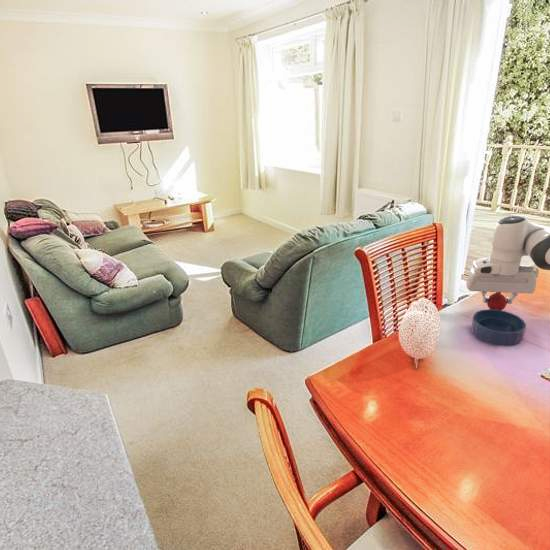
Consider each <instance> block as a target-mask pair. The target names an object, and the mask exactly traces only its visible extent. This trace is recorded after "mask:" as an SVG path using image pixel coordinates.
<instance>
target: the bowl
mask: <svg viewBox="0 0 550 550" xmlns="http://www.w3.org/2000/svg"><path fill="white" fill-rule="evenodd" d="M471 321H472V322H471V327H470V330H471V333H472V335H473V336H474V337H475V338H477V339H479V340H480V341H482V342H483V343H484V342H485V343H486V344H490V345H494V346H500V347H513V346H517V345H520V344H521V343H522V342H523V341H524V337H525V332H526V329H527V323H526V322H525V321H524V319H523V318H521V317H520V316H519V315H516V314H514V313H512V312H509V311H506V310H493V309H490V308H488V309H481V310H478V311H476V312H475V313H473V316H472V320H471Z"/></svg>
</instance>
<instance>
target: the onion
mask: <svg viewBox="0 0 550 550" xmlns="http://www.w3.org/2000/svg"><path fill="white" fill-rule="evenodd" d="M488 298H489V303H486V304H487V307H488V309H493V310H501V311H504V309H505V308H506V307H507V305H508V304H507V301H506V296H504V295H503V294H502V292H494V293H492V294H490V295H489V296H488Z"/></svg>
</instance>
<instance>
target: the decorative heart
mask: <svg viewBox="0 0 550 550" xmlns="http://www.w3.org/2000/svg"><path fill="white" fill-rule="evenodd" d="M402 317H403V318H402V320H401V322H400V324H399V327H398V340H399V344H400V346H401V348H402V350H403V351H404V353H405V354H407V356H409V357H411V358H413V359H414V364H415V369H417V368H418V360H421V359H425V358H427V357H429V356H430V355H432V353H433V352H434V351H435V350H436V348H437V346H438V344H439V340H440V335H441V318H440V313H439V310H438V308H437V306H436V304H434V302H432V300H429V299H427V298H420V299H417V300H416V301H414V302H413V303H412V304H411V305H410V306H409V307H408V308H407V310H406V311H405V313H404V315H403V316H402Z"/></svg>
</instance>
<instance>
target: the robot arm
mask: <svg viewBox="0 0 550 550" xmlns="http://www.w3.org/2000/svg"><path fill="white" fill-rule="evenodd" d="M491 247H492V248H491V252H490V254H489V256H488V257H484V258H483V257H482V258H480V259H476V260H473V262H472V268H471V269H470V270H469V272H468V274H467V278H466V282H465V286H466V289H467V290H468V291H469V292H479V293H481V295H482V302H483V303H485V304H487V303H489V295H488V296H487V293H496V292H501V293H505V294H506V293H507V294H509V293H510V296H505V298H506V301H507V305H508V304H509V305H511V304H513V300H515V299H516V298H517V297H518V295H519V294H534V292H536V289H537V278H538V277H539V272H540V270H539V269H541V270H543V271H544V270H545V271H550V228H549V227H548V226H545V225H541V224H537V223H534V222H532V221H530V220H529V219H527V218H526V217H525V216H521V215H510V216H505V217H503V218H501V219H500V220H499V221H498V222H497V223H496V226H495V229H494V232H493V236H492V241H491ZM525 256H526V257H527V256H528V257H529V258H530V259H531V261H532V262H533V263H534V265H535V266H534V265H521V262H522V258H523V257H525Z"/></svg>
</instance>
